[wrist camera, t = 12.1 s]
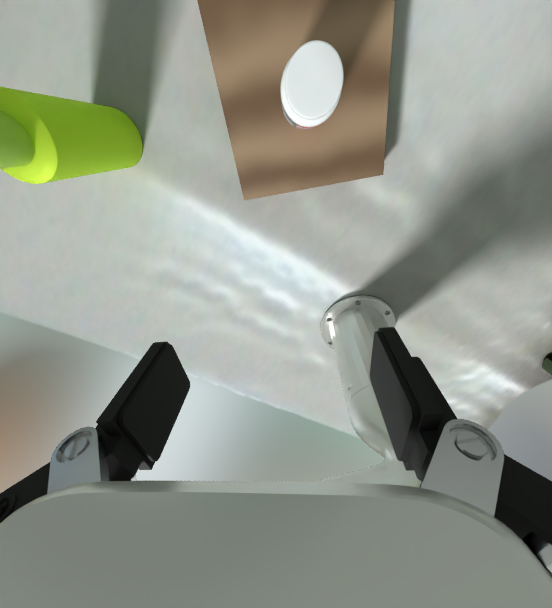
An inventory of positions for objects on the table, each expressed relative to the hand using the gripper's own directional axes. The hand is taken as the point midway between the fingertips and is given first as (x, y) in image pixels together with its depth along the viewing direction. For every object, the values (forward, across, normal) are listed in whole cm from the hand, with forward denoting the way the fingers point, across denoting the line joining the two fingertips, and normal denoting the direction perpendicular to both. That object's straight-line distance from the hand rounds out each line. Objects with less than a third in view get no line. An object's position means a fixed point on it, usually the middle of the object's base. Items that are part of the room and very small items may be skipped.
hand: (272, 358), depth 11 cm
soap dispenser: (+25, +19, -12) cm, 34 cm away
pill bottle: (+23, -3, -12) cm, 26 cm away
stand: (+25, -3, -12) cm, 28 cm away
